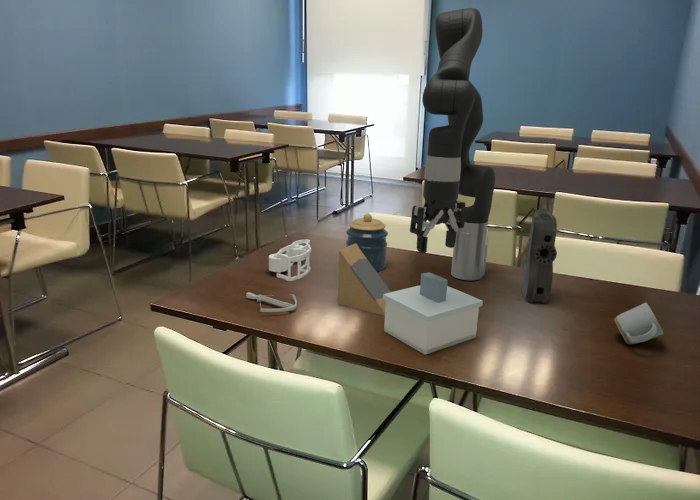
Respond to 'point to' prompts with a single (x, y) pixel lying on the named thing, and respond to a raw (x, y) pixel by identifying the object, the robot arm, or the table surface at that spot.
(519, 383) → the table surface
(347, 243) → the canister
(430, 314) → the lid
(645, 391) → the table surface
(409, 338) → the box
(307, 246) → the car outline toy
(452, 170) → the robot arm
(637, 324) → the ceramic mug
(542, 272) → the handheld device
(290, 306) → the crossbow
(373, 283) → the sandwich container
